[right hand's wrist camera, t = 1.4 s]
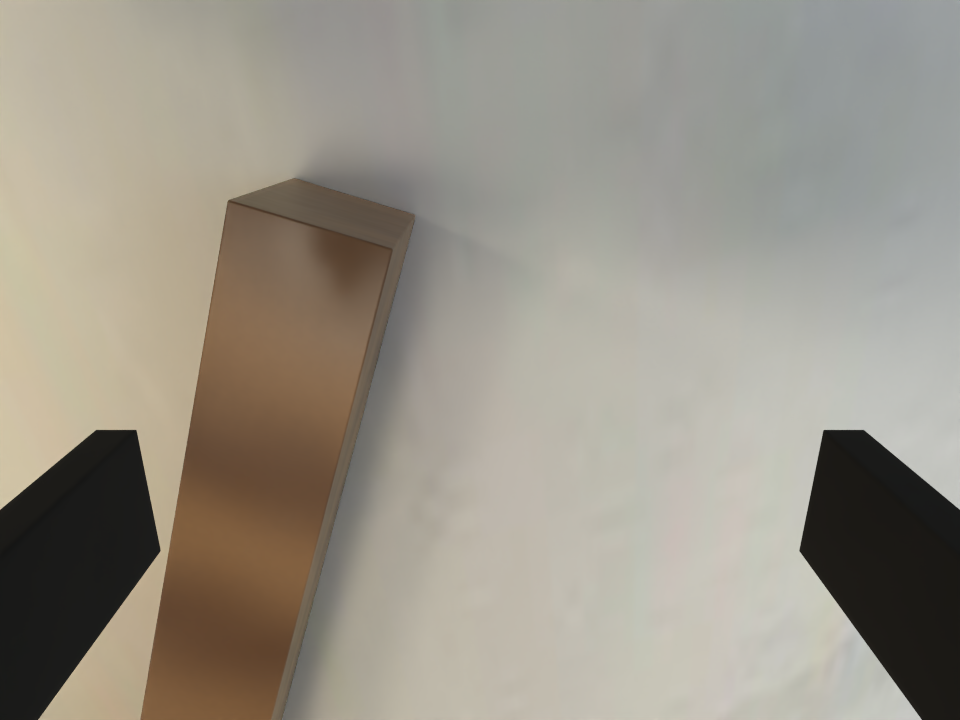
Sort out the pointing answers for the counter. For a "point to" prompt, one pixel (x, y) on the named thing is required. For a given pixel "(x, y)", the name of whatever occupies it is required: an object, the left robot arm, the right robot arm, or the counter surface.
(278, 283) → the bar
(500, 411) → the counter surface
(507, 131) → the counter surface
